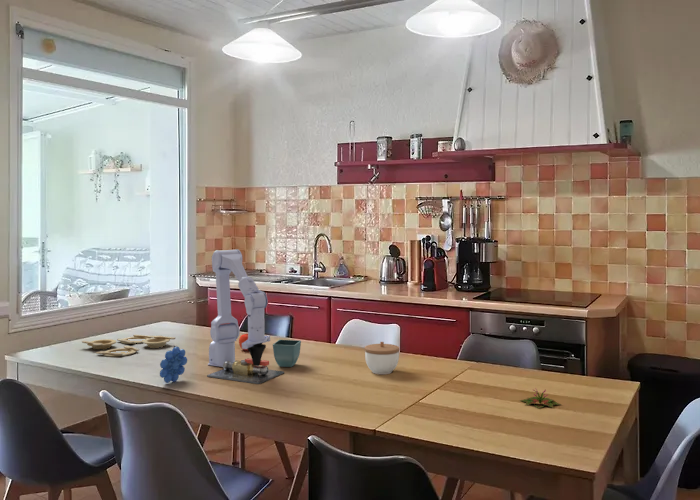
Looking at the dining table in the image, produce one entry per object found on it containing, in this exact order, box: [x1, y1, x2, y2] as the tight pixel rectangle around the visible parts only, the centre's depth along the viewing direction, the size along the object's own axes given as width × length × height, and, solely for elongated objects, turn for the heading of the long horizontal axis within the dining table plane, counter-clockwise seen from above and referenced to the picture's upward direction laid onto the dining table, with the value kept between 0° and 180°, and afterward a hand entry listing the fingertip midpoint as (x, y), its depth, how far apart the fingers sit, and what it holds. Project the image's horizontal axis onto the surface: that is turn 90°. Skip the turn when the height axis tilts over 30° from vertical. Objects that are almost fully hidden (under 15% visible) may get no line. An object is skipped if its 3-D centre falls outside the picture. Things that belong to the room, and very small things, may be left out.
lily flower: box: [518, 387, 562, 409], centre depth 190 cm, size 12×12×5 cm
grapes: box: [159, 346, 188, 384], centre depth 215 cm, size 12×7×12 cm, turn 147°
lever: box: [240, 358, 270, 367], centre depth 222 cm, size 11×3×2 cm, turn 60°
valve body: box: [206, 360, 285, 385], centre depth 223 cm, size 22×16×4 cm
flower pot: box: [272, 339, 302, 368], centre depth 236 cm, size 9×9×9 cm
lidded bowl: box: [364, 341, 400, 375], centre depth 227 cm, size 13×13×11 cm
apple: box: [238, 333, 249, 352], centre depth 264 cm, size 8×8×8 cm
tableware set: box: [81, 334, 176, 358], centre depth 270 cm, size 35×29×4 cm
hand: (256, 365), depth 219 cm, fingers closed
